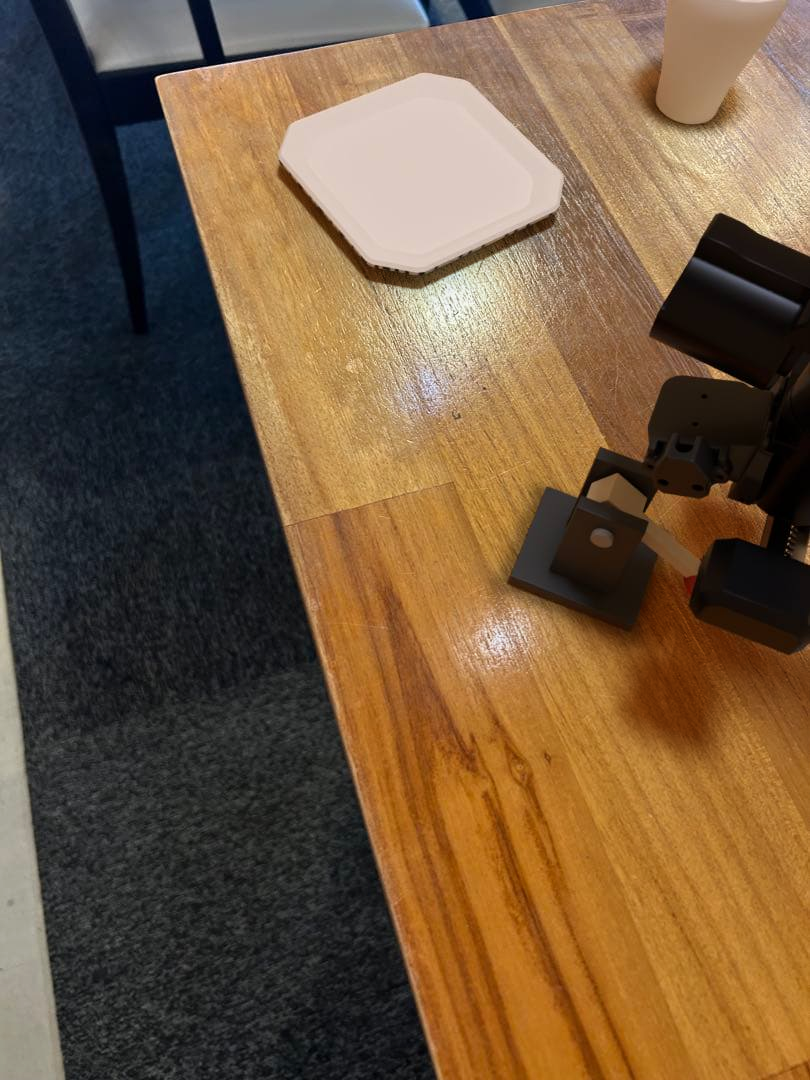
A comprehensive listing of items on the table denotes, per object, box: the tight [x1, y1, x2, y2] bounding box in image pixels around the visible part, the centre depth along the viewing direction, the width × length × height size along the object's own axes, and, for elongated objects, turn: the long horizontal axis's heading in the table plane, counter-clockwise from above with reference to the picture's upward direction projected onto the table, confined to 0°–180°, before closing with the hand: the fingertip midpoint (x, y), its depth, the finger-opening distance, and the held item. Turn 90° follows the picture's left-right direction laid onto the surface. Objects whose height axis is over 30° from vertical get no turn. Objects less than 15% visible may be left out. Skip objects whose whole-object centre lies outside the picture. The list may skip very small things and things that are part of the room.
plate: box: [277, 72, 565, 276], centre depth 84 cm, size 21×21×2 cm
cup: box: [655, 0, 790, 125], centre depth 87 cm, size 10×10×14 cm
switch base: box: [507, 446, 659, 633], centre depth 63 cm, size 9×8×10 cm
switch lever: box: [587, 473, 702, 597], centre depth 62 cm, size 12×3×3 cm
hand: (730, 557), depth 61 cm, fingers open, 9 cm apart
